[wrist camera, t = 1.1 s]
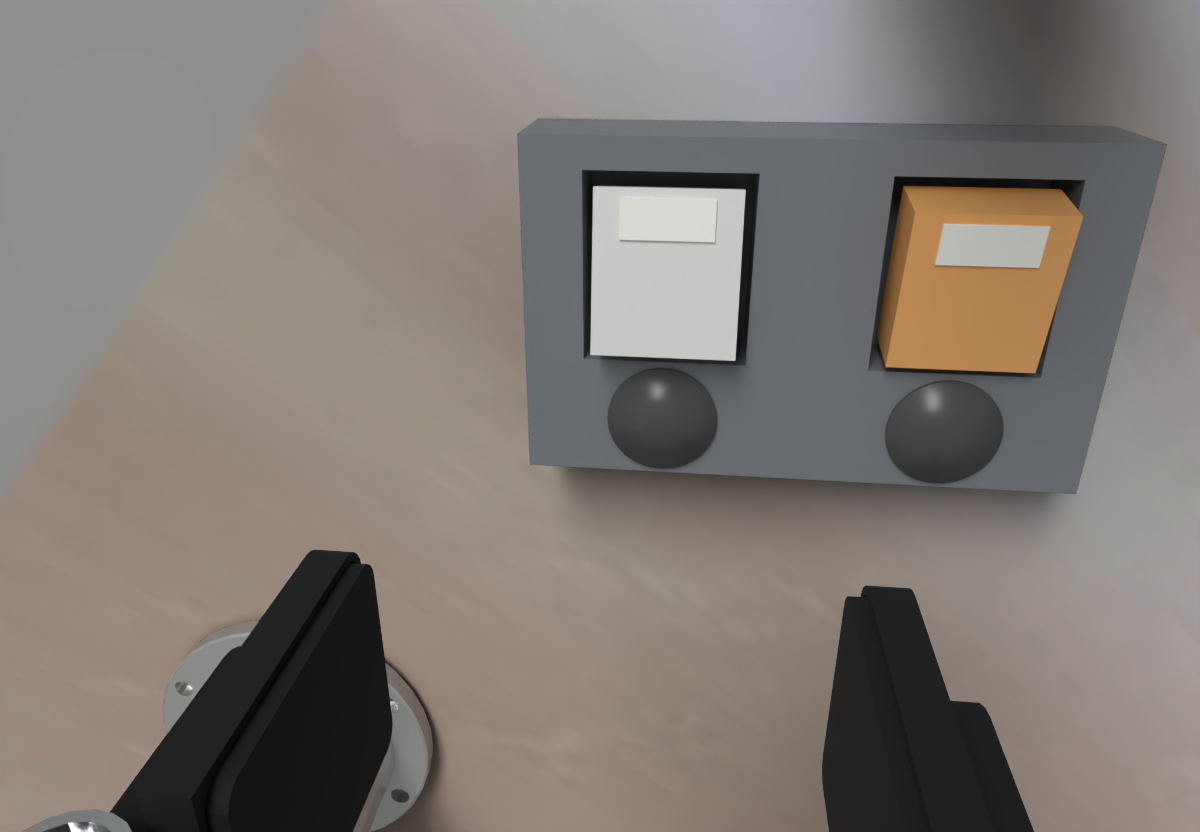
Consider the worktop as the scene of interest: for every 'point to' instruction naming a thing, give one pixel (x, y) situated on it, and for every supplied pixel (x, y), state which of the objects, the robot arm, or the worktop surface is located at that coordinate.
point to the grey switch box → (822, 304)
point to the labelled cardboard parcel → (975, 277)
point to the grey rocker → (666, 271)
